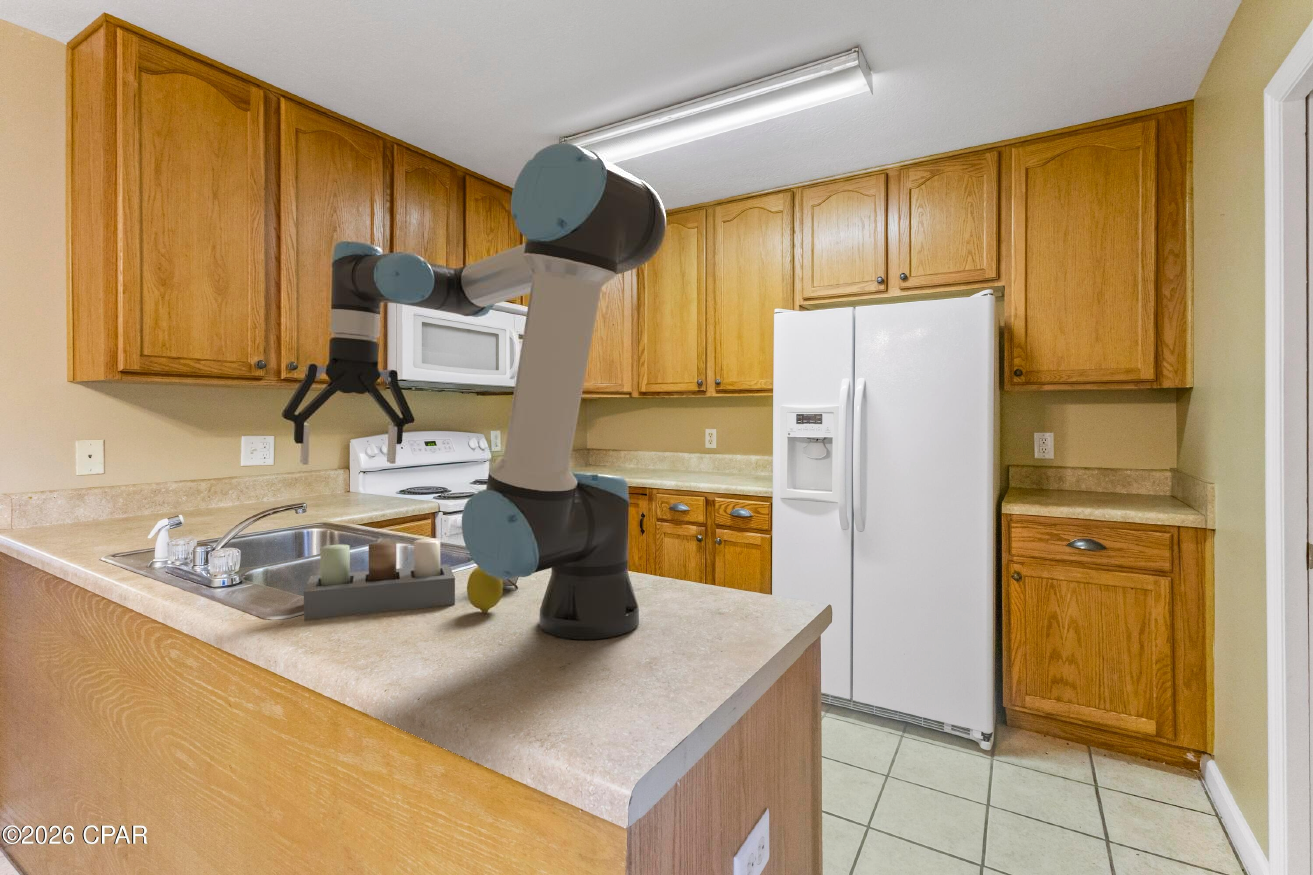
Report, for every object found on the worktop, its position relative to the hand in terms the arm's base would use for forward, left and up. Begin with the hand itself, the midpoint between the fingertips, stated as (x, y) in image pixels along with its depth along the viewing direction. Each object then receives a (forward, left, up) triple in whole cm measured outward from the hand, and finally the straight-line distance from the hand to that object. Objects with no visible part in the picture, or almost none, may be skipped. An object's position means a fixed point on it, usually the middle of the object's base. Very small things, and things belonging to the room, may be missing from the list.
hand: (349, 463), depth 107 cm
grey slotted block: (-6, -5, -23) cm, 24 cm away
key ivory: (-6, -12, -20) cm, 24 cm away
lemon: (-17, -20, -23) cm, 35 cm away
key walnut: (-6, -5, -20) cm, 22 cm away
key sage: (-6, +2, -20) cm, 21 cm away
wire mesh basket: (-4, -25, -23) cm, 35 cm away
